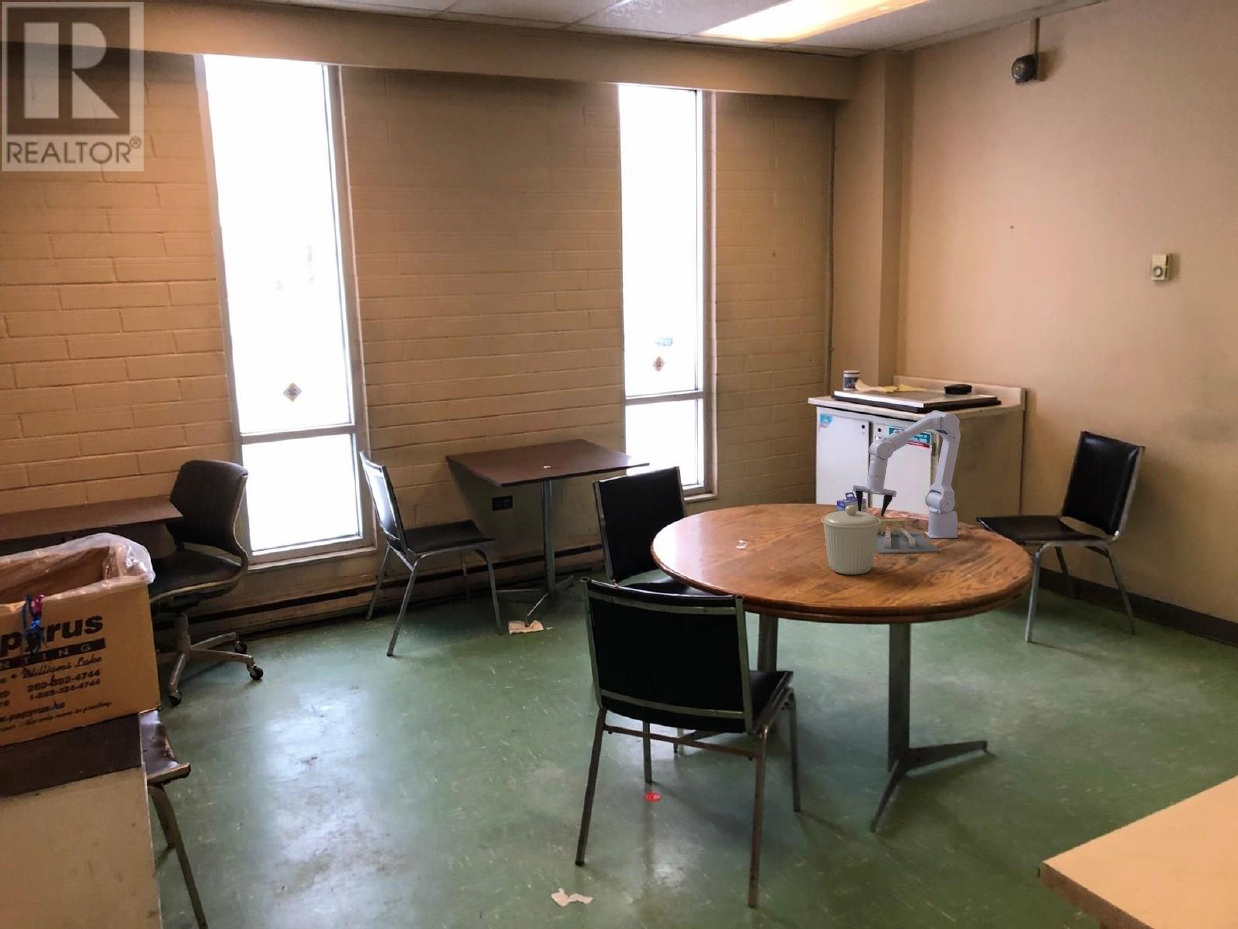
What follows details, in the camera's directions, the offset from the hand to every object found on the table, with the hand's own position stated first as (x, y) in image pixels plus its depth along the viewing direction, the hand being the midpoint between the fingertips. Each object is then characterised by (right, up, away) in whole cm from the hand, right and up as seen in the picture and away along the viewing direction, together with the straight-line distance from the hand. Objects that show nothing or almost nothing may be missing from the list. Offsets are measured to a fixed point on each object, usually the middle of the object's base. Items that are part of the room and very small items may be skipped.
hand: (870, 514), depth 335 cm
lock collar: (+10, -8, +11) cm, 17 cm away
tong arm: (+6, -9, +2) cm, 11 cm away
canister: (-13, -16, -27) cm, 34 cm away
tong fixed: (+12, -9, +1) cm, 15 cm away
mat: (+10, -10, +2) cm, 14 cm away
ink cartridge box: (-2, -8, +18) cm, 20 cm away
